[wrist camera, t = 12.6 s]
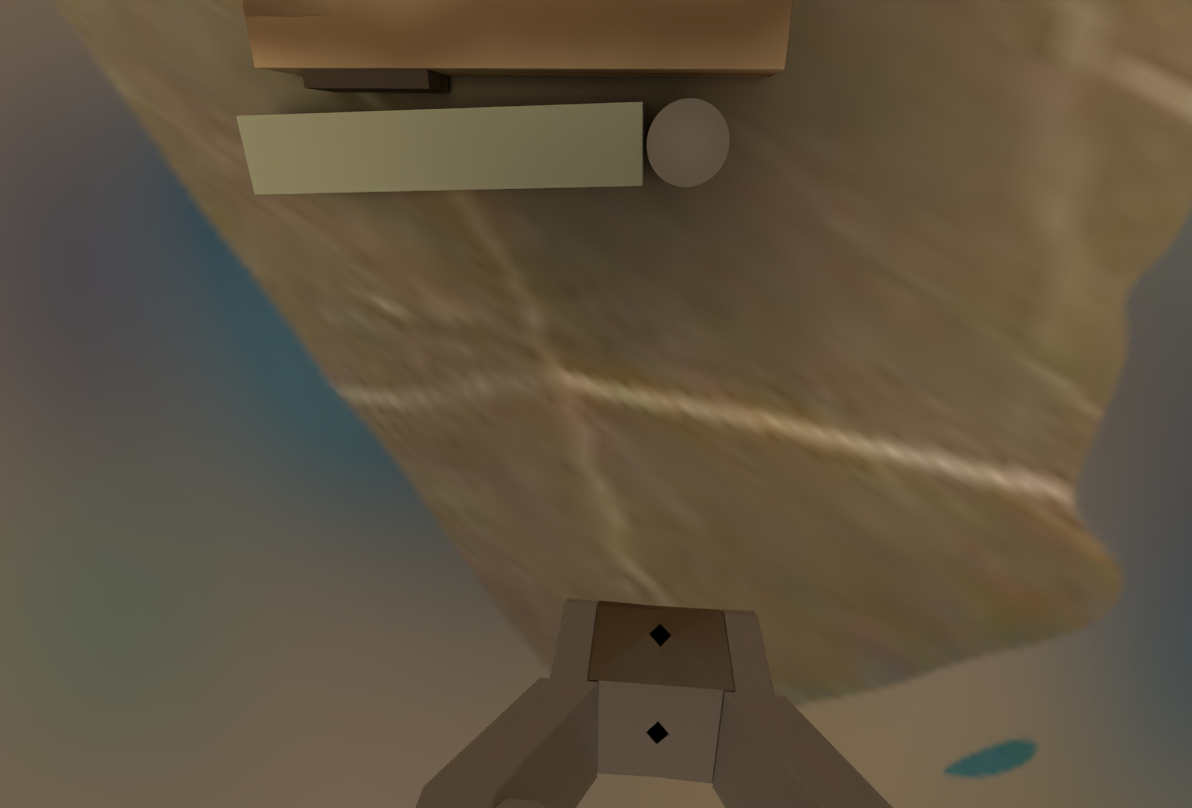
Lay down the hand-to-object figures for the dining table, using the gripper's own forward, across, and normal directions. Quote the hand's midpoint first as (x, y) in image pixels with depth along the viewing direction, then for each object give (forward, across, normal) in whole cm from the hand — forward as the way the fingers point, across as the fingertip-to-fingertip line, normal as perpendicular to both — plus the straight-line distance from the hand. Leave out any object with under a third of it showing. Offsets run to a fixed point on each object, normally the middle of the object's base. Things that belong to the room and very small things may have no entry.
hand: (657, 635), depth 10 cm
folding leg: (+27, +8, -7) cm, 29 cm away
